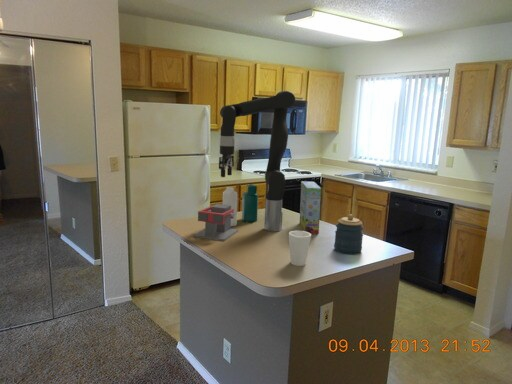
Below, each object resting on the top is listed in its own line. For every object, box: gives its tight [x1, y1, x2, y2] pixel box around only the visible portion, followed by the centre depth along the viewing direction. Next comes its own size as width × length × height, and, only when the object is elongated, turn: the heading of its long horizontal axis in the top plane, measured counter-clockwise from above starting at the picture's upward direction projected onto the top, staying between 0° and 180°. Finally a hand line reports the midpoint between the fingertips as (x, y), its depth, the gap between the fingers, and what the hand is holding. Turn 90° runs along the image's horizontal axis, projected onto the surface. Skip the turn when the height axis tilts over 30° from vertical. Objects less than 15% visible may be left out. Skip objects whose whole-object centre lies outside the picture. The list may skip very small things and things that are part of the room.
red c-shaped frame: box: [197, 205, 234, 224], centre depth 197 cm, size 14×14×5 cm
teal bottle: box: [241, 183, 259, 223], centre depth 228 cm, size 10×8×22 cm
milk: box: [222, 186, 238, 227], centre depth 216 cm, size 6×6×22 cm
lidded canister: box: [333, 214, 365, 255], centre depth 181 cm, size 13×13×18 cm
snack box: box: [299, 180, 322, 235], centre depth 215 cm, size 22×9×26 cm, turn 2°
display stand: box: [193, 203, 240, 242], centre depth 198 cm, size 19×17×14 cm
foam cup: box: [288, 230, 312, 267], centre depth 162 cm, size 10×9×13 cm
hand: (226, 176), depth 199 cm, fingers open, 8 cm apart
